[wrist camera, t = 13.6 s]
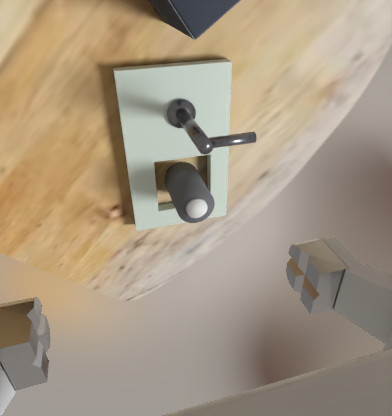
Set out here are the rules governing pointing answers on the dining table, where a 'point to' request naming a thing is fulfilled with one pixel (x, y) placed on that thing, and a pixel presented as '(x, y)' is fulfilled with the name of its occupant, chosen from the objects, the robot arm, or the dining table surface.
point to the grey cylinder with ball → (189, 193)
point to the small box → (192, 14)
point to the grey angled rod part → (184, 118)
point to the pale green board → (172, 129)
